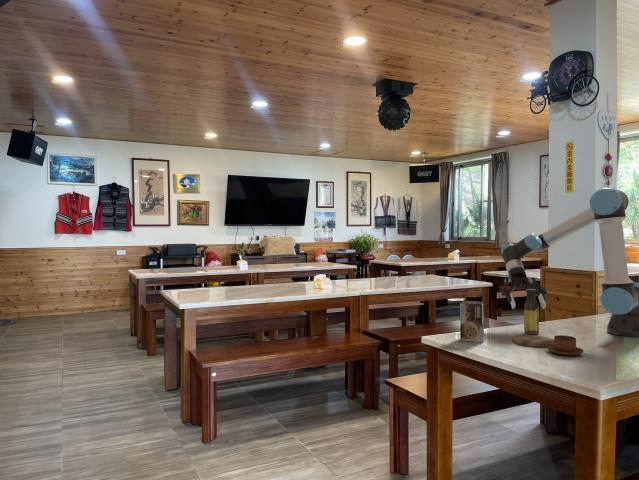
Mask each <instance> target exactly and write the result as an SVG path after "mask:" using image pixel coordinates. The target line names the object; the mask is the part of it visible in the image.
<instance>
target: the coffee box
mask: <svg viewBox="0 0 639 480" xmlns="http://www.w3.org/2000/svg"><path fill="white" fill-rule="evenodd" d="M484 311H485V310H484V301H469V300H468V301H467V300H466V301H465V300H462V301H461V302H459V323H460V324H459V325H460V326H459V331H460V332H459V334H460V335H459V336H460V337H459V341H460V342H467V341H473V342H472V343H480V342H481V343H484V341H485V338H484V337H485V336H484V335H485V333H484V332H485V331H484V330H485V327H484V324H485V323H484V322H485V321H484V319H485V317H484V315H485V313H484Z"/></svg>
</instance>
